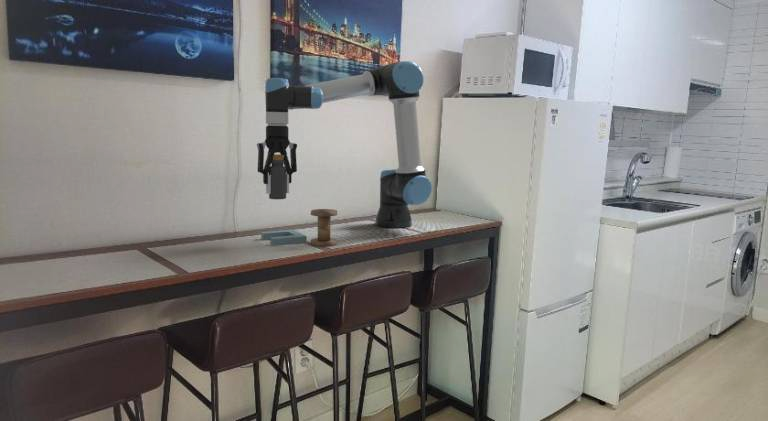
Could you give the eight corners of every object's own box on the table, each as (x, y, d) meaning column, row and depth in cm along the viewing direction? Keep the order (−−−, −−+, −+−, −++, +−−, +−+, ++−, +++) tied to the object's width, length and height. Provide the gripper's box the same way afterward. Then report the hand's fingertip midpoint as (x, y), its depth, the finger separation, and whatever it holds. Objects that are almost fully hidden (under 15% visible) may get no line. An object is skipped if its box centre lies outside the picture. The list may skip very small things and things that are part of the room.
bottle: (265, 198, 186) (265, 154, 184) (276, 196, 191) (276, 154, 189) (279, 199, 184) (278, 155, 181) (289, 198, 189) (289, 154, 186)
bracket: (293, 236, 199) (293, 229, 199) (306, 242, 188) (306, 236, 188) (261, 238, 193) (261, 232, 193) (273, 246, 182) (272, 238, 182)
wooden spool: (330, 240, 194) (330, 208, 192) (341, 245, 186) (341, 212, 184) (306, 242, 189) (306, 209, 187) (316, 247, 181) (317, 213, 180)
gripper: (299, 125, 191) (299, 190, 195) (246, 124, 182) (247, 193, 186) (307, 125, 185) (307, 193, 189) (252, 124, 176) (253, 195, 179)
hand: (277, 193), depth 187 cm, fingers closed on bottle, 6 cm apart
